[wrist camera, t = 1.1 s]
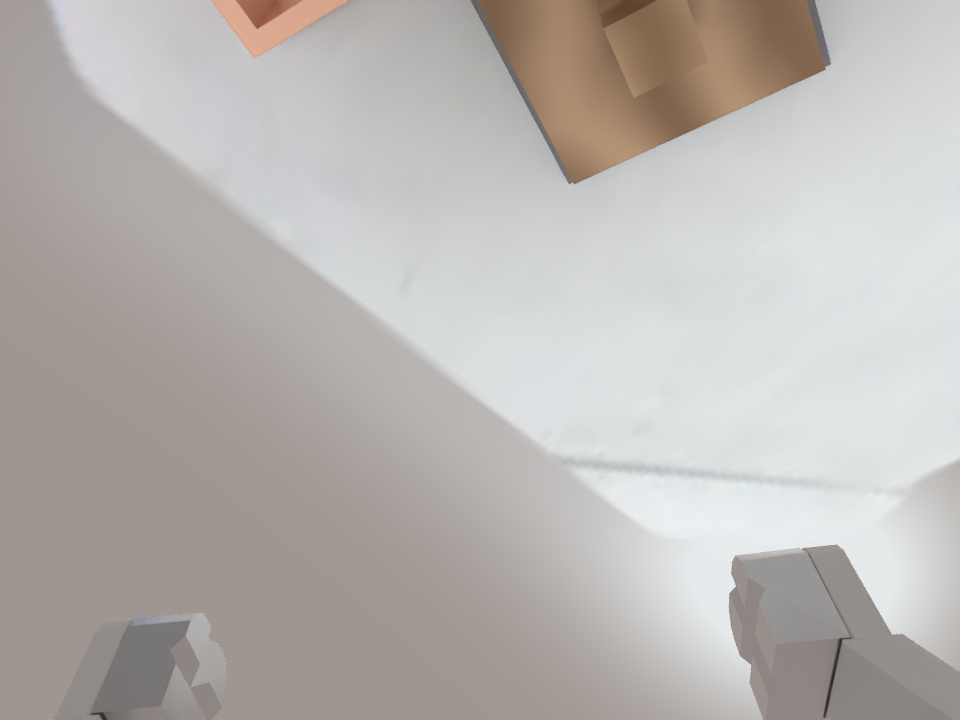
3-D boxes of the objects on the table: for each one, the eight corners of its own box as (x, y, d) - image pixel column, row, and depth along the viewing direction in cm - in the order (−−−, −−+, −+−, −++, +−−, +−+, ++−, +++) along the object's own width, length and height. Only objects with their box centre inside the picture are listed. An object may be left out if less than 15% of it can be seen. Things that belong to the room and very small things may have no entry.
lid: (739, -235, 32) (770, -219, 28) (818, 60, 40) (852, 106, 36) (451, -58, 37) (442, -22, 33) (573, 173, 45) (578, 225, 41)
